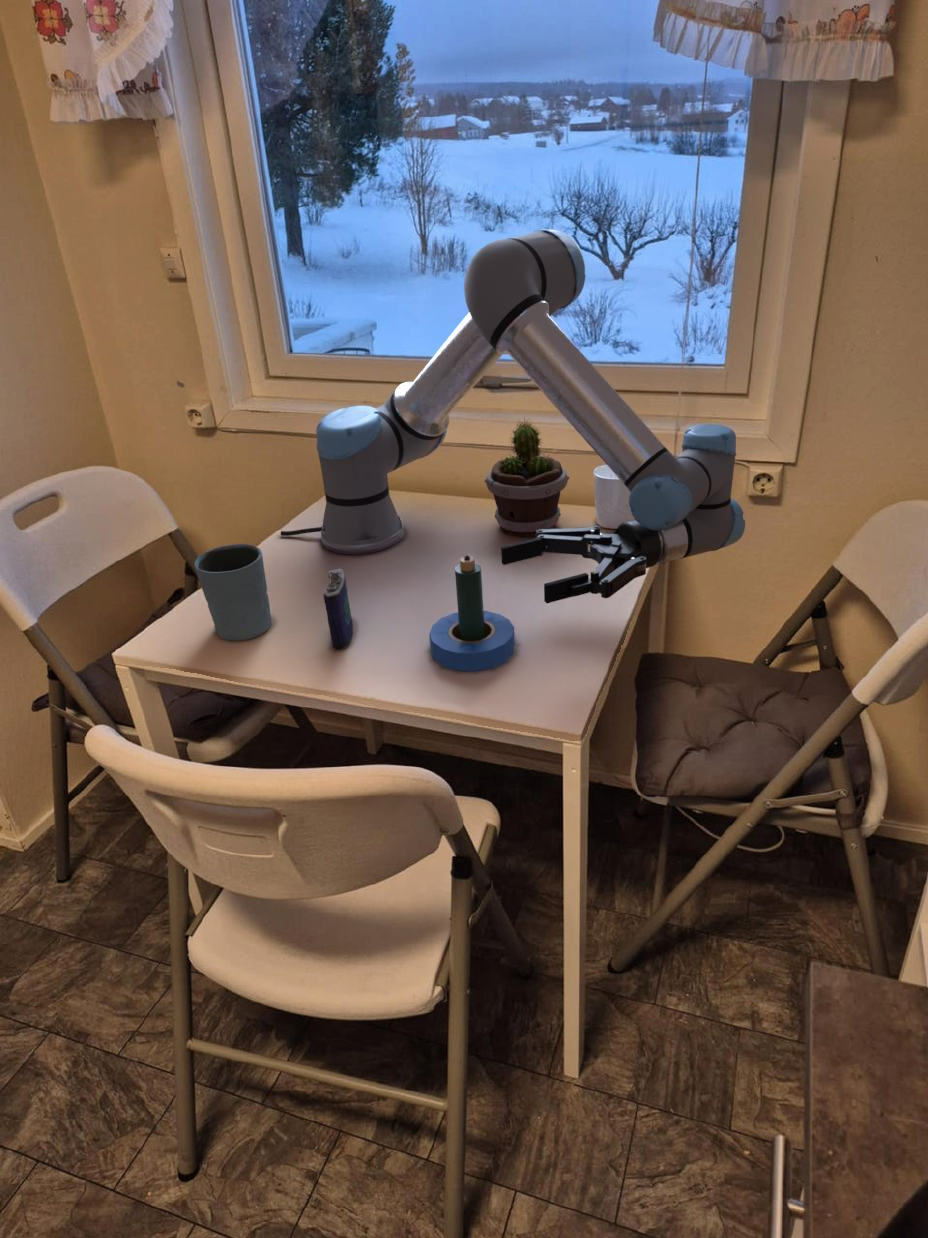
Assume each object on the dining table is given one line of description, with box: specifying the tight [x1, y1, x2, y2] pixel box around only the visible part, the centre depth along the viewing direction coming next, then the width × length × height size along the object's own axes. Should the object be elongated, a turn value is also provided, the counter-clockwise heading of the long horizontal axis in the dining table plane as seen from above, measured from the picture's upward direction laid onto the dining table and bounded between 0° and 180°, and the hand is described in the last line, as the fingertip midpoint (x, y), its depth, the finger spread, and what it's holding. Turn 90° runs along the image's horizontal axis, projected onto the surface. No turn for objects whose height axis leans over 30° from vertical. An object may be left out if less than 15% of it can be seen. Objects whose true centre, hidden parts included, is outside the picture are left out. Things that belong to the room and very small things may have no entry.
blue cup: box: [194, 543, 272, 642], centre depth 131 cm, size 10×10×12 cm
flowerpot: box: [484, 417, 570, 537], centre depth 156 cm, size 14×15×20 cm
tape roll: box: [429, 610, 516, 672], centre depth 123 cm, size 12×12×3 cm
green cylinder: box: [454, 555, 485, 641], centre depth 120 cm, size 4×4×15 cm
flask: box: [322, 568, 354, 651], centre depth 127 cm, size 9×3×11 cm, turn 1°
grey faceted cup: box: [593, 464, 634, 530], centre depth 157 cm, size 8×8×10 cm
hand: (522, 574), depth 122 cm, fingers open, 13 cm apart
